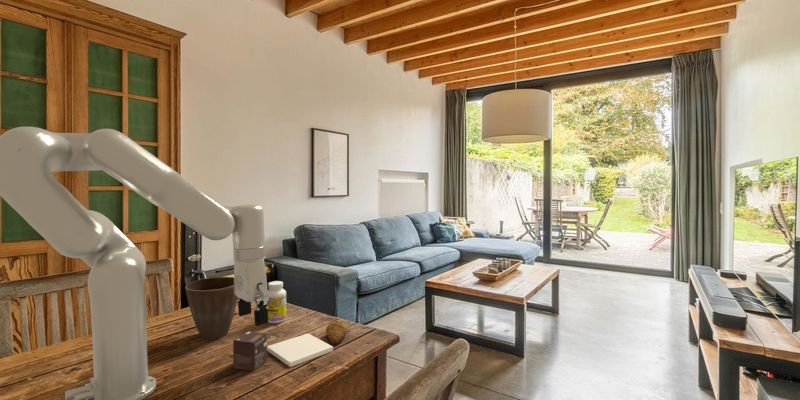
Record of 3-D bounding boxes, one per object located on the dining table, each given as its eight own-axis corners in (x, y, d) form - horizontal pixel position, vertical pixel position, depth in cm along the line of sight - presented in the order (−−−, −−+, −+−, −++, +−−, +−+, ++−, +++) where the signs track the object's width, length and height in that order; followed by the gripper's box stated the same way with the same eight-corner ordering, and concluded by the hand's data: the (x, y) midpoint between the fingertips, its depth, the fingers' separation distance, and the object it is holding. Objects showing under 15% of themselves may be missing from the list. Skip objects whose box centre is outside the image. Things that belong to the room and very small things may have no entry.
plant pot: (242, 339, 112) (241, 286, 112) (184, 349, 106) (183, 292, 105) (239, 322, 126) (238, 274, 125) (188, 330, 120) (187, 279, 119)
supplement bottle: (261, 322, 126) (260, 284, 125) (273, 316, 132) (273, 279, 131) (278, 325, 124) (278, 286, 123) (290, 318, 130) (289, 281, 129)
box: (254, 371, 94) (253, 342, 94) (232, 369, 95) (232, 340, 95) (267, 360, 100) (267, 332, 100) (247, 357, 101) (246, 330, 101)
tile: (290, 367, 96) (290, 362, 96) (266, 350, 105) (266, 346, 105) (333, 351, 105) (333, 346, 105) (308, 337, 114) (308, 333, 114)
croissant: (328, 328, 122) (328, 313, 121) (349, 328, 122) (349, 312, 122) (322, 347, 108) (322, 329, 108) (346, 346, 109) (346, 329, 108)
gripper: (221, 251, 100) (225, 315, 101) (249, 261, 87) (253, 333, 89) (249, 247, 105) (253, 307, 106) (279, 255, 93) (282, 324, 94)
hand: (253, 319), depth 97 cm, fingers open, 9 cm apart
